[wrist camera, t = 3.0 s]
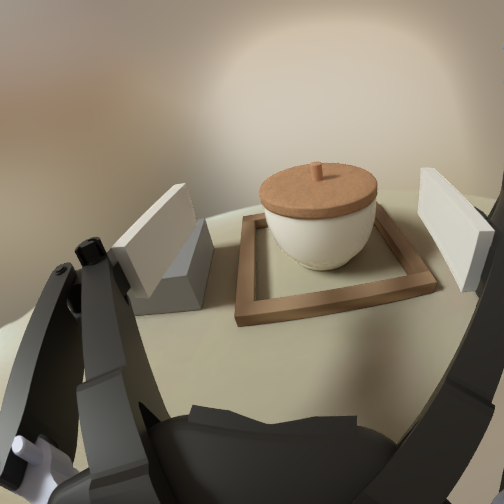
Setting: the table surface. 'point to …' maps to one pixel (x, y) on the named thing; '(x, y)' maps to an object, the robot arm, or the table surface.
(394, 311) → the table surface
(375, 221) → the walnut collar
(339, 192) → the lidded jar
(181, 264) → the gray stand
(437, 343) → the table surface
